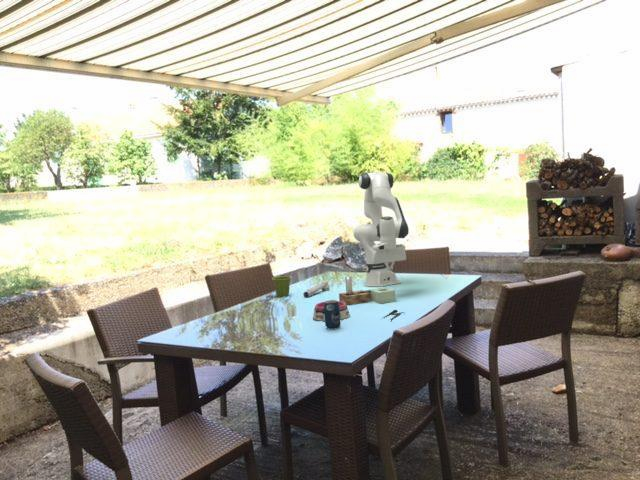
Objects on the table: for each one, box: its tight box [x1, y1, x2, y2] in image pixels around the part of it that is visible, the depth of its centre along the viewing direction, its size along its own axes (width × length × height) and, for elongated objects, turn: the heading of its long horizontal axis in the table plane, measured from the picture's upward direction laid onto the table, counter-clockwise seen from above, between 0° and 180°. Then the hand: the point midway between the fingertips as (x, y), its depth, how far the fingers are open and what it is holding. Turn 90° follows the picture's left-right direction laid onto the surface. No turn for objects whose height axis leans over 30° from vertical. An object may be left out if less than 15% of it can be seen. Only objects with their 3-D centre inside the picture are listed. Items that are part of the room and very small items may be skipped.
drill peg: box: [344, 276, 354, 296], centre depth 291 cm, size 4×4×14 cm
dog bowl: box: [312, 300, 351, 323], centre depth 261 cm, size 18×19×7 cm
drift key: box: [363, 287, 382, 293], centre depth 296 cm, size 12×2×5 cm, turn 109°
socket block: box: [338, 289, 372, 306], centre depth 293 cm, size 14×12×4 cm
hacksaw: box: [382, 309, 406, 321], centre depth 250 cm, size 24×10×2 cm, turn 147°
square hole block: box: [370, 287, 397, 305], centre depth 288 cm, size 10×10×6 cm
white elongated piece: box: [303, 280, 331, 298], centre depth 325 cm, size 5×7×25 cm
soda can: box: [324, 299, 341, 330], centre depth 240 cm, size 7×7×12 cm
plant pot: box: [271, 275, 292, 298], centre depth 326 cm, size 12×12×11 cm
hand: (389, 269), depth 298 cm, fingers closed
